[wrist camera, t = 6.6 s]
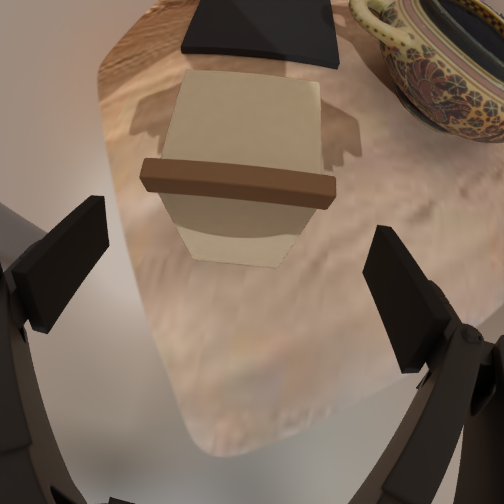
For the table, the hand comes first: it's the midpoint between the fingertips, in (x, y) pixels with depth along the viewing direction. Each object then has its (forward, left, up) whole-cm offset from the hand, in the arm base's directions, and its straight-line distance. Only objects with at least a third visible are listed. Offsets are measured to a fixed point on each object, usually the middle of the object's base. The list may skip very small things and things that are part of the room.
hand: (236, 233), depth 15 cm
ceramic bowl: (+19, +20, -8) cm, 29 cm away
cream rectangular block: (0, +3, -8) cm, 9 cm away
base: (0, +31, -8) cm, 32 cm away
